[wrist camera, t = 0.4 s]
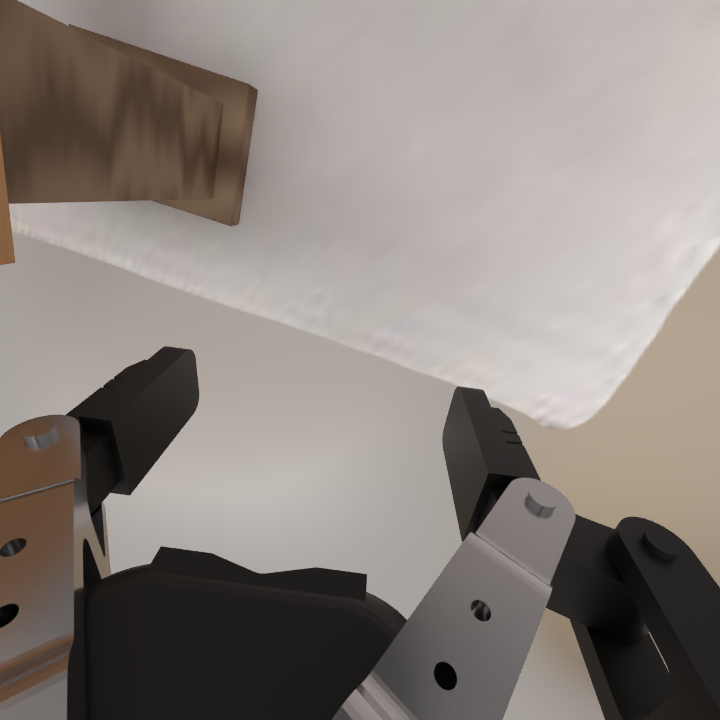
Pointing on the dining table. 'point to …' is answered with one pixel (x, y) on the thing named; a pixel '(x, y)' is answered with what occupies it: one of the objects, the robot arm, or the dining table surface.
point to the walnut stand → (116, 121)
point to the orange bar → (5, 219)
